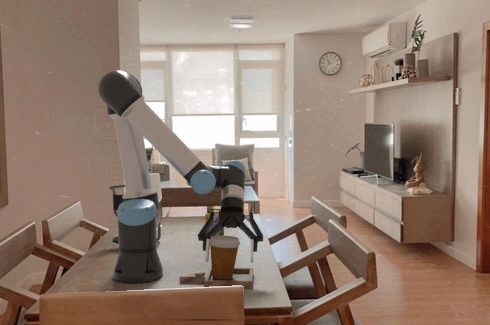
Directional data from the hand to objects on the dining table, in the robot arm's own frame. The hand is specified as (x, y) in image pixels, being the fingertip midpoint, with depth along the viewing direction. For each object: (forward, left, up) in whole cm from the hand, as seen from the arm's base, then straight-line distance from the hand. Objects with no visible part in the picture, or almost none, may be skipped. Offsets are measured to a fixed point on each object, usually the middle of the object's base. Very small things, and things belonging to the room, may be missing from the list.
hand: (229, 260), depth 158 cm
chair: (-41, +51, -7) cm, 66 cm away
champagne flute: (-39, +79, -7) cm, 88 cm away
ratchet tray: (-4, +2, -7) cm, 8 cm away
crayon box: (-10, +59, -7) cm, 60 cm away
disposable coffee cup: (-2, +3, -6) cm, 7 cm away
